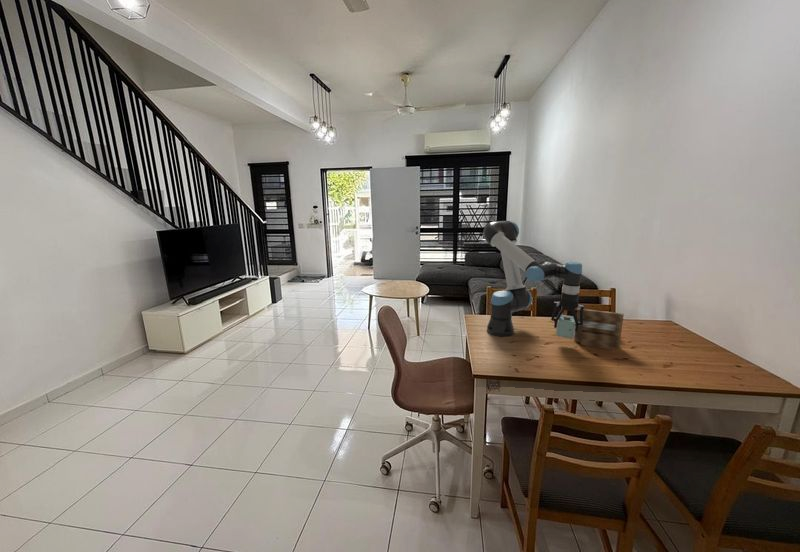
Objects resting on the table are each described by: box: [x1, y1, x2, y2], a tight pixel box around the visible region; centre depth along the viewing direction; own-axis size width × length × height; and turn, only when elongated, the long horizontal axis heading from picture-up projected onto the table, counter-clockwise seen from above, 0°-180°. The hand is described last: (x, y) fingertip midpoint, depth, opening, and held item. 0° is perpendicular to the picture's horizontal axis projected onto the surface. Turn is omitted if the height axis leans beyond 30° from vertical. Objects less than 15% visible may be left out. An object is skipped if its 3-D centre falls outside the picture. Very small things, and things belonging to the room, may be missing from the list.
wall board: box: [573, 307, 624, 351], centre depth 164 cm, size 20×8×18 cm, turn 61°
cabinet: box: [556, 314, 575, 339], centre depth 165 cm, size 7×9×10 cm
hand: (564, 334), depth 165 cm, fingers closed on cabinet, 7 cm apart
